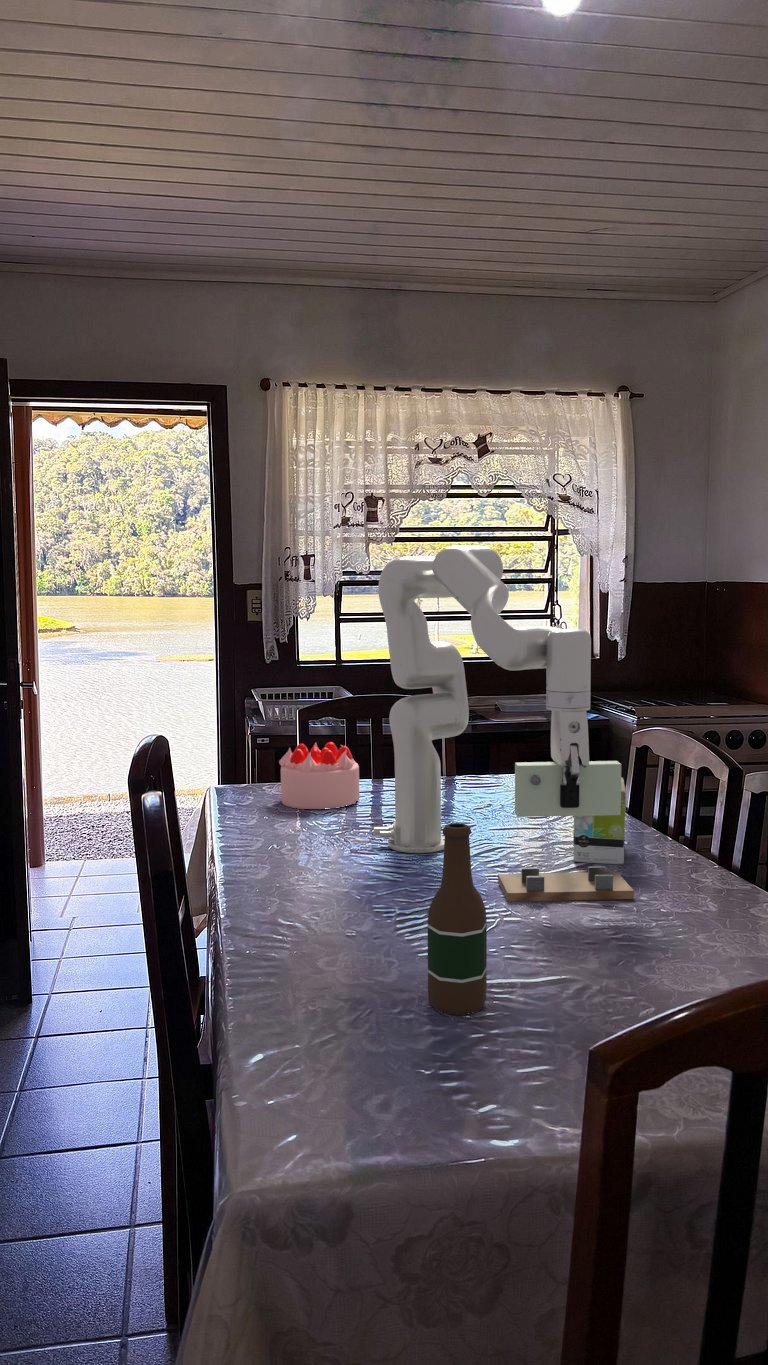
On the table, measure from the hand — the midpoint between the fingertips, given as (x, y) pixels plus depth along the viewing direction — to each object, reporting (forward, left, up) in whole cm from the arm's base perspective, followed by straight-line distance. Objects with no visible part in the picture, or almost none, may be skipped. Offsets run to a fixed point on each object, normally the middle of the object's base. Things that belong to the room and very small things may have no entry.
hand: (567, 803), depth 172 cm
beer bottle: (-24, -44, -16) cm, 53 cm away
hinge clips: (0, 0, -15) cm, 15 cm away
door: (0, 0, -2) cm, 2 cm away
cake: (-46, +76, -17) cm, 90 cm away
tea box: (+12, +25, -17) cm, 32 cm away
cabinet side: (0, +2, -16) cm, 16 cm away
